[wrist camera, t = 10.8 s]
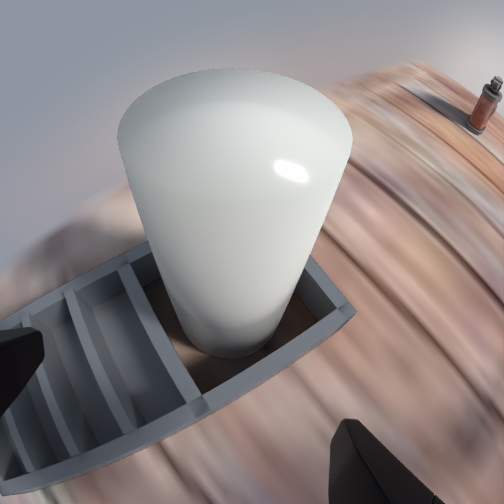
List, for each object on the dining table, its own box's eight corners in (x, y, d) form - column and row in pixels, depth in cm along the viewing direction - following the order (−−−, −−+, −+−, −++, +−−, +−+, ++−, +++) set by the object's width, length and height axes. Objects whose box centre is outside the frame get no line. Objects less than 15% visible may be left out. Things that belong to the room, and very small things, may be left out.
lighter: (479, 138, 34) (506, 88, 26) (462, 125, 35) (487, 74, 27) (486, 126, 37) (509, 82, 29) (471, 114, 39) (492, 70, 30)
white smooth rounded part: (244, 378, 16) (283, 254, 5) (159, 320, 17) (73, 139, 6) (296, 297, 19) (376, 113, 8) (217, 250, 20) (214, 56, 9)
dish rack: (29, 492, 10) (-4, 496, 7) (-18, 362, 14) (-49, 346, 11) (339, 330, 18) (360, 308, 15) (251, 220, 22) (255, 185, 19)
